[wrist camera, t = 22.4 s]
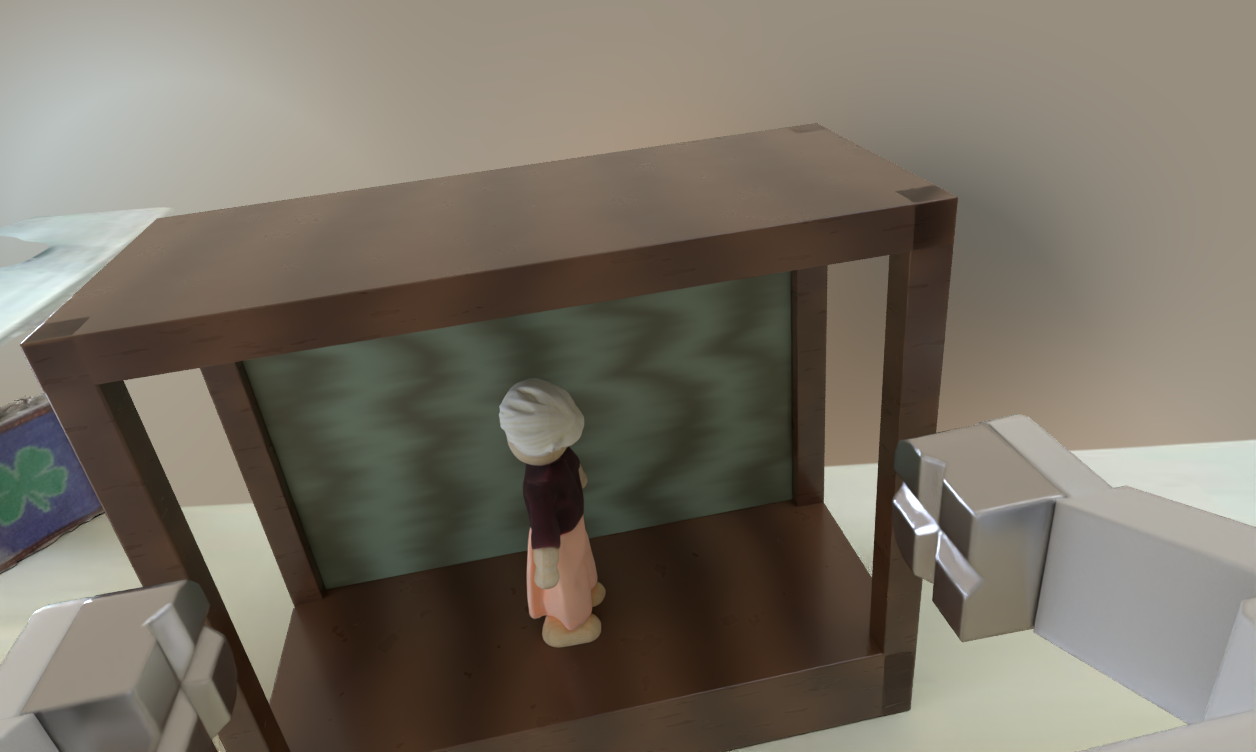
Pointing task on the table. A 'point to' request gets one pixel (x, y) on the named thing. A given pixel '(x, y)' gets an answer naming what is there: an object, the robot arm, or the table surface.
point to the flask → (38, 481)
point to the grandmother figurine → (554, 511)
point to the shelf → (493, 476)
